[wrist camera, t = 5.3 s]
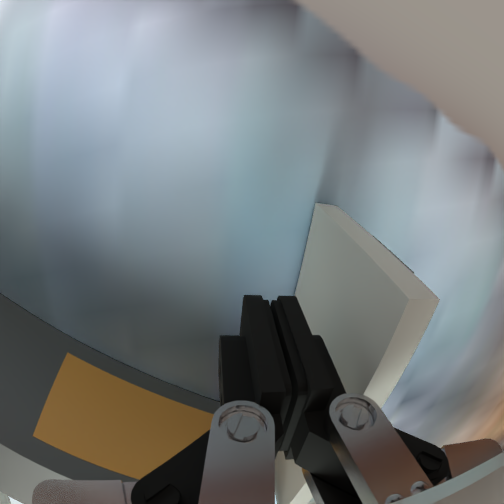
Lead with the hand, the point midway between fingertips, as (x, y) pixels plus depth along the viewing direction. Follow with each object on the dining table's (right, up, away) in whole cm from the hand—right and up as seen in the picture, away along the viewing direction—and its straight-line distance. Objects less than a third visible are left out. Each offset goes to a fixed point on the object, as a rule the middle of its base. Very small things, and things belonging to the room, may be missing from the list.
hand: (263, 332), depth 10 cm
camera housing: (-13, -7, +7) cm, 16 cm away
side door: (+2, -2, +6) cm, 6 cm away
